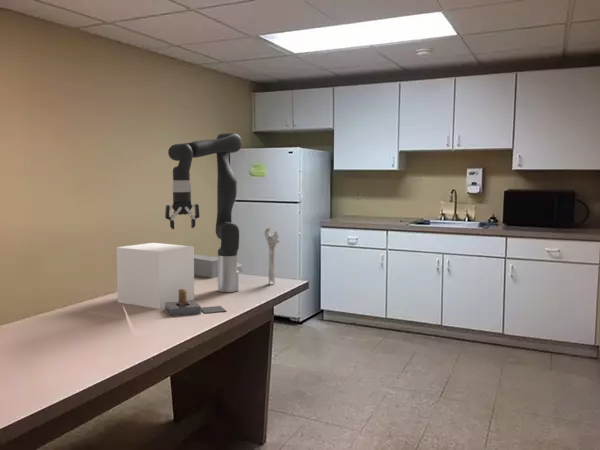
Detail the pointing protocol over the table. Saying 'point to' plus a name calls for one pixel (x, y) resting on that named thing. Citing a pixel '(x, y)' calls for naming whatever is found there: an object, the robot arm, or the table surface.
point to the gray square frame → (182, 308)
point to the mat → (212, 309)
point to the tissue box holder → (208, 266)
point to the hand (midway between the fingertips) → (182, 228)
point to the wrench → (271, 252)
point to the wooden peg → (182, 297)
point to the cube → (154, 273)
